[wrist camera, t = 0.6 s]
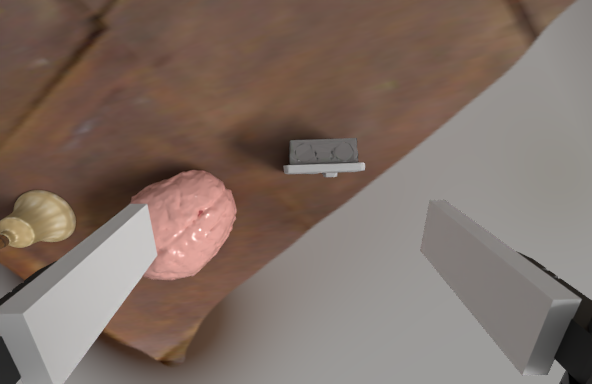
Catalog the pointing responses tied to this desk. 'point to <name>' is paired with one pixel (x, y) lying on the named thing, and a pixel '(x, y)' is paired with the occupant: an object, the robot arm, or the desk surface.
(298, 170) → the electrical switch
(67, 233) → the hand bell
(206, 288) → the desk surface
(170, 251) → the brain
